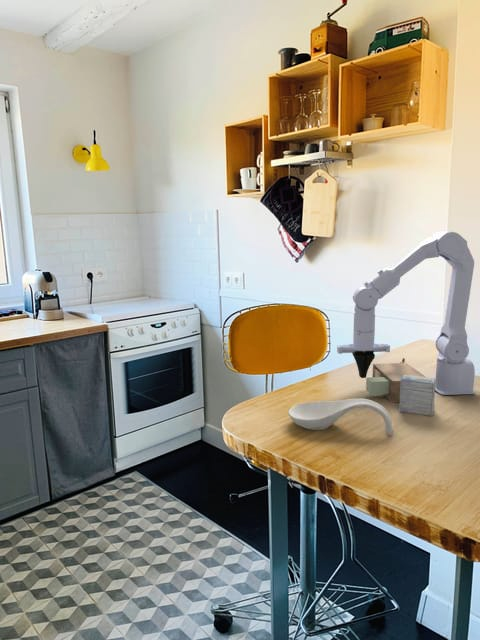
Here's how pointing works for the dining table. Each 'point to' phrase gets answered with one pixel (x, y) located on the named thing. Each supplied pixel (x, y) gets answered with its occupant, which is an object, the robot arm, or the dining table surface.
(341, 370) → the dining table surface
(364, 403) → the spoon rest
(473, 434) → the dining table surface
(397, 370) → the walnut block
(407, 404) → the medicine box
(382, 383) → the sage bar
